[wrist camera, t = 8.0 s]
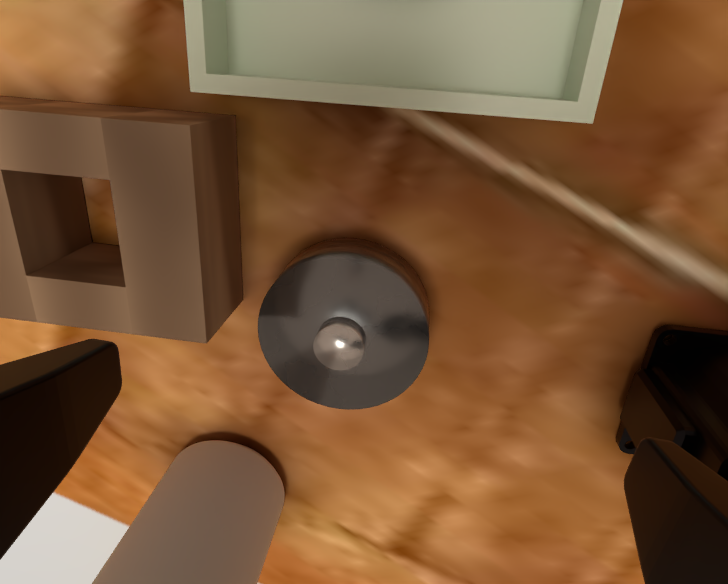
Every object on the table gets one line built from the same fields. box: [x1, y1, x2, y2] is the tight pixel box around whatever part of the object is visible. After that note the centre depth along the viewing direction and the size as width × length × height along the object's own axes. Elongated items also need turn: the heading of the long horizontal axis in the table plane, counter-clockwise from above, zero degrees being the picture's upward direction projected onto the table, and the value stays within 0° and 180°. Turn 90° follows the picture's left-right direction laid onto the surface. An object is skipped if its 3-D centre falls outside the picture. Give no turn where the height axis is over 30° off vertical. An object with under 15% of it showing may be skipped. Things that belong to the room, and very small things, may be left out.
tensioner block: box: [0, 96, 243, 343], centre depth 19 cm, size 10×8×4 cm
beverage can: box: [92, 440, 285, 584], centre depth 22 cm, size 6×6×12 cm
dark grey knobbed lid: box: [258, 238, 429, 409], centre depth 21 cm, size 7×7×3 cm
